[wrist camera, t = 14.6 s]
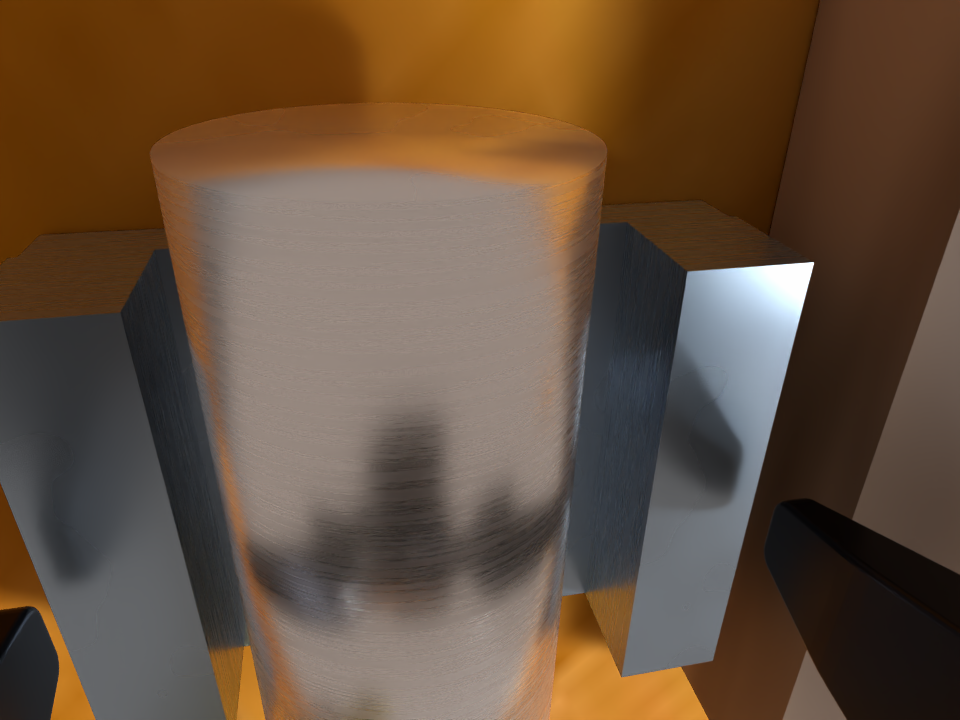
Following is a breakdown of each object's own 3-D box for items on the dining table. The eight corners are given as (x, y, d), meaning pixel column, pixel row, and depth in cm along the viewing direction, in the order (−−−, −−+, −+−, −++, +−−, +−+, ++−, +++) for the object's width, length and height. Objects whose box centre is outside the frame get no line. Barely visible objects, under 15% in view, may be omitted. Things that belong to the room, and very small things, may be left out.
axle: (240, 99, 8) (46, 194, 5) (583, 106, 8) (644, 208, 5) (319, 668, 13) (251, 924, 10) (535, 676, 13) (548, 935, 10)
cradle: (707, 200, 11) (813, 262, 8) (649, 549, 14) (712, 660, 12) (31, 235, 9) (-64, 325, 7) (151, 623, 12) (115, 769, 10)
